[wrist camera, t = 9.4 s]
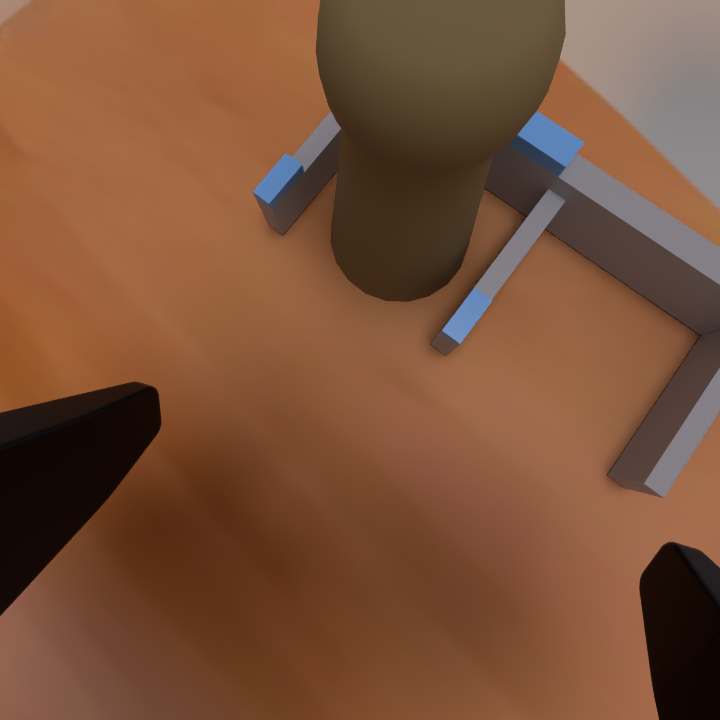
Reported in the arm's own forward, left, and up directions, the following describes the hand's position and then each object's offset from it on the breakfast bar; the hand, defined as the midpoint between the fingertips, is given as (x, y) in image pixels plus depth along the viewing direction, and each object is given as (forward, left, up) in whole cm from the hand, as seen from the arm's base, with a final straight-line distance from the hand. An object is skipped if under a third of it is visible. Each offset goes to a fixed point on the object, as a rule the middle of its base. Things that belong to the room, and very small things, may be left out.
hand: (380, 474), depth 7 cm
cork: (+3, +8, -10) cm, 14 cm away
